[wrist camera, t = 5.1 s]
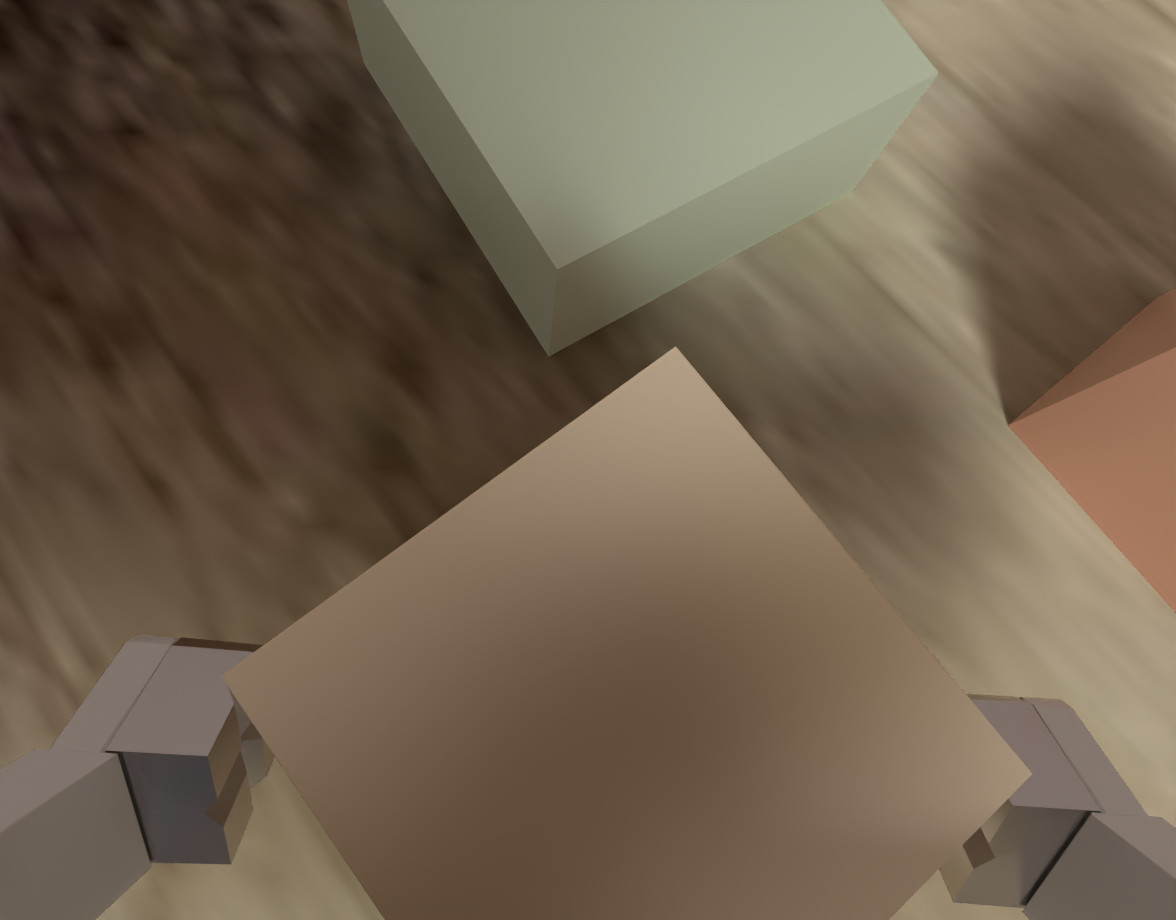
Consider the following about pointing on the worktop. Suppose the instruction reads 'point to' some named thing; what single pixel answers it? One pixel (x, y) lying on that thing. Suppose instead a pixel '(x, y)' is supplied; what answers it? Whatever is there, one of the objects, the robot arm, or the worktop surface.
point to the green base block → (636, 130)
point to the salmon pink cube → (1119, 440)
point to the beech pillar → (628, 695)
